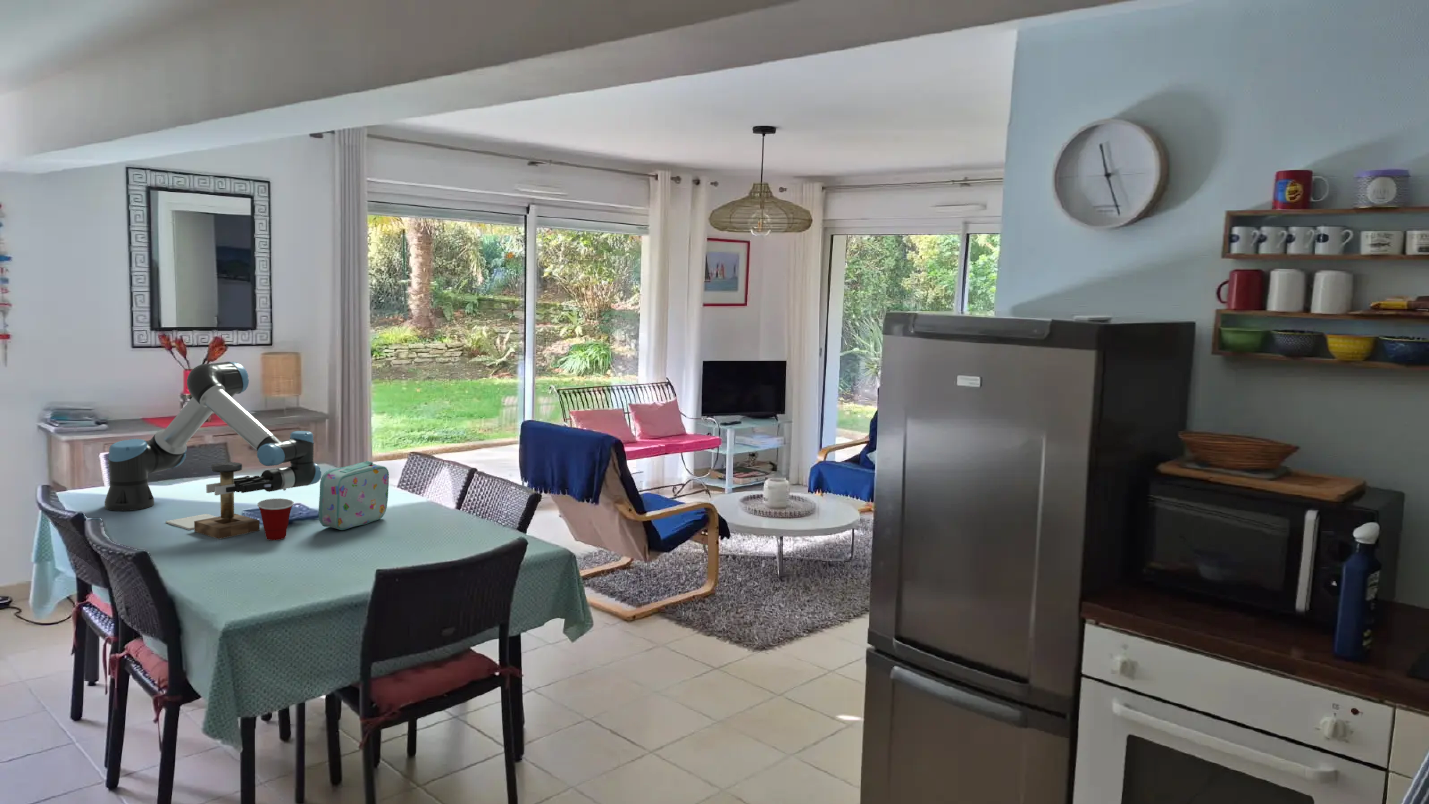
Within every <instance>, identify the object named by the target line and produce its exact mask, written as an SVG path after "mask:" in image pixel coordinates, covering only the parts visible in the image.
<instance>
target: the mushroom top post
mask: <svg viewBox="0 0 1429 804" xmlns="http://www.w3.org/2000/svg"><path fill="white" fill-rule="evenodd" d="M210 467H211V469H210V470H211V472H215V473H219V480H220V481H219V483H220V486H223V485H230V484H234V478H235V476H234V475H235V474H234V473H236V472H239V471H243V463H241V462H233V461H231V462H230V461H226V462H224V461H223V462H215V463H213V464H211V466H210ZM219 496H220V499H219V500H220V516H221V518H223V519H229V518H233V517H234V514H235V492H234V493H228V494H222V495H219Z"/></svg>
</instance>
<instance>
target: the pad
mask: <svg viewBox="0 0 1429 804" xmlns="http://www.w3.org/2000/svg"><path fill="white" fill-rule="evenodd" d="M214 517H217V516H215V515H212V514H209V513H204V514H198V515H192V516H187V517H181V518H174V519H171V520H165V524H169V525H172V526H175V527H178V528H180V529H181V528H182V529H184V530H188V531H191V530H194V521H198V520H203V519H209V518H214Z"/></svg>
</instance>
